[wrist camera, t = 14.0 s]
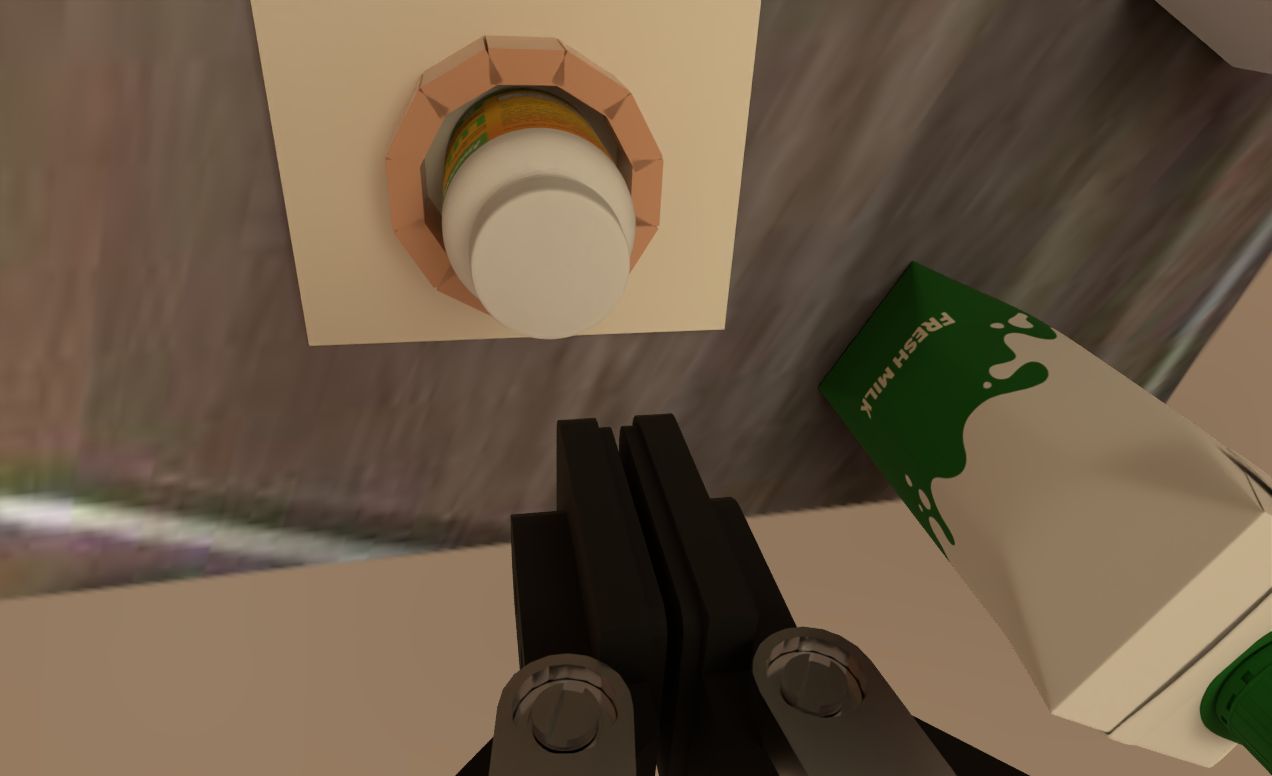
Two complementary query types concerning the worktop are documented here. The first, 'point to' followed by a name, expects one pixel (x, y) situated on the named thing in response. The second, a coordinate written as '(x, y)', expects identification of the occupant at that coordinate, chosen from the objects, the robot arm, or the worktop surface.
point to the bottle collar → (469, 79)
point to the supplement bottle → (536, 214)
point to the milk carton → (1075, 516)
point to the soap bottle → (1230, 28)
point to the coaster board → (385, 79)
